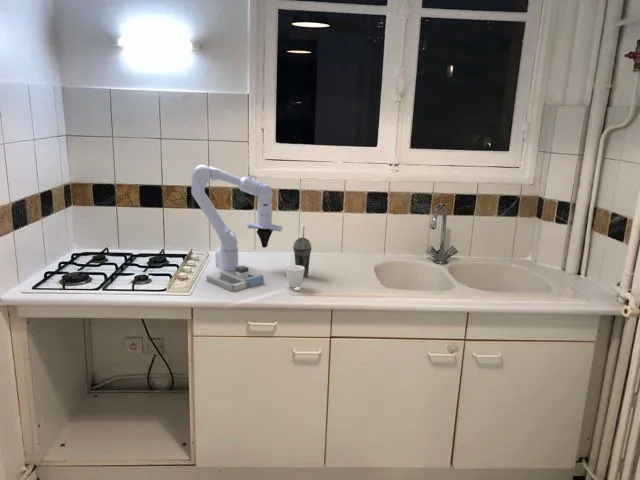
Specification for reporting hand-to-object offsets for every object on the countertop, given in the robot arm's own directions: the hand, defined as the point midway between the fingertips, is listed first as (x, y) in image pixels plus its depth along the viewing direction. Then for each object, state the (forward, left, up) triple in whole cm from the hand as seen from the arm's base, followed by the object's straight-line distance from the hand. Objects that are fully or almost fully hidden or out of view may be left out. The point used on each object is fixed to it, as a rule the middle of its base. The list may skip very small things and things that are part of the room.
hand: (264, 246), depth 217 cm
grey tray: (+8, -21, -9) cm, 24 cm away
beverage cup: (+17, +5, -10) cm, 20 cm away
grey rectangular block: (+8, -18, -8) cm, 21 cm away
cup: (+25, -6, -10) cm, 28 cm away
